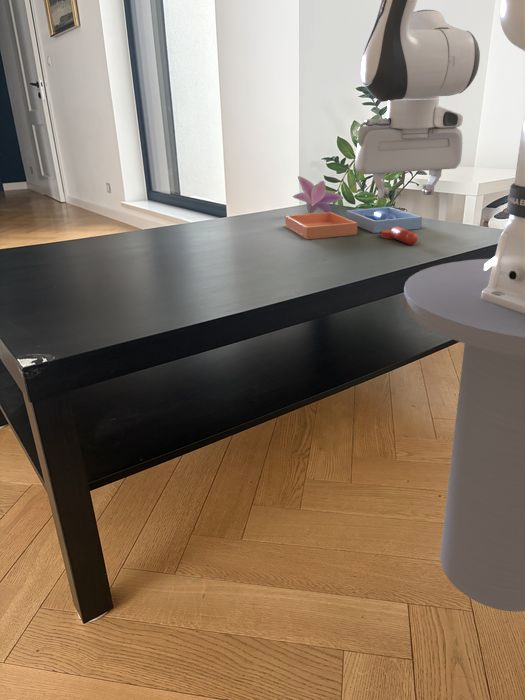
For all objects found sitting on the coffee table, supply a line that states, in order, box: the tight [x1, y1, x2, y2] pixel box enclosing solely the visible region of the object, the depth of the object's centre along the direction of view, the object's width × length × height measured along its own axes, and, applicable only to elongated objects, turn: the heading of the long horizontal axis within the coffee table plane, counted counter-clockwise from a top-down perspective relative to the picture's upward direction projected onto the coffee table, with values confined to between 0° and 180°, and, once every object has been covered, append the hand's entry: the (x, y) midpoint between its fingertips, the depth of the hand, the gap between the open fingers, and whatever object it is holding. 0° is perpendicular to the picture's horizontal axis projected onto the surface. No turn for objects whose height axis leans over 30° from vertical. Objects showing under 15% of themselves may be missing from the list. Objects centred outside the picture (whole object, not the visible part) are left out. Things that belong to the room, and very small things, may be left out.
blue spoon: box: [366, 211, 396, 221], centre depth 124 cm, size 11×4×2 cm, turn 15°
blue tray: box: [345, 206, 423, 234], centre depth 124 cm, size 15×11×2 cm
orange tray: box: [284, 211, 358, 241], centre depth 121 cm, size 15×11×2 cm
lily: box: [292, 175, 344, 214], centre depth 135 cm, size 12×12×10 cm
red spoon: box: [380, 227, 419, 246], centre depth 109 cm, size 11×4×2 cm, turn 15°
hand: (405, 196), depth 105 cm, fingers open, 8 cm apart
